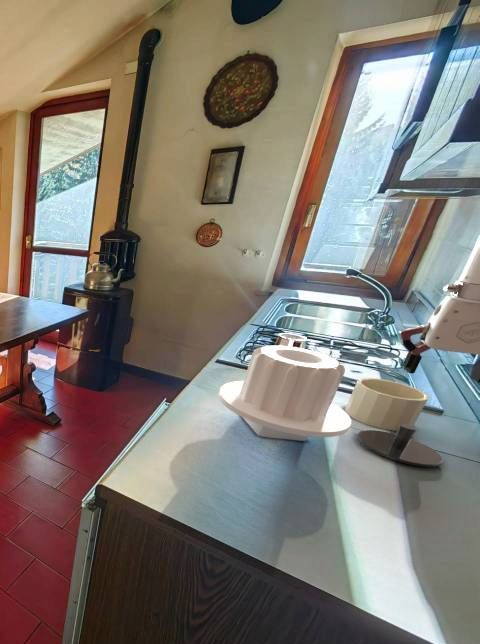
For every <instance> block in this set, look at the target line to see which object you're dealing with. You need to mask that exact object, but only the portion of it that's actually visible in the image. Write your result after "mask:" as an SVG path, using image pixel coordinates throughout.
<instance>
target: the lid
mask: <svg viewBox="0 0 480 644" xmlns="http://www.w3.org/2000/svg"><path fill="white" fill-rule="evenodd" d="M416 431H417V428H416V427H415V426H411V425H407V424H401V425H400V427H399V428H398V430H397V431H395V433H393V432H388V431H383V430H378V429H377V430H376V429H365V430H360V431H359V432H358V433H357V435H356V438H357V441H358V442H359V443H360V444H361V445H362V446H364V447H365V448H367V449H368V450H370V451H372V452H374V453H376V454H378V455H379V456H380V455H381V456H383V457H386V458H388V459H391V460H393V461H397V462H399V463H404V464H407V465H412V466H418V467H428V468H431V467H439V466H440V465H441V464H442V463H443V457H442V455H441V454H440V453H439V452H438V451H436V450H435V449H433V448H432V447H429V446H428V445H426V444H425V443H422V442H420V441H418V440H415V439H413V436H414V435H415V433H416Z"/></svg>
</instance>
